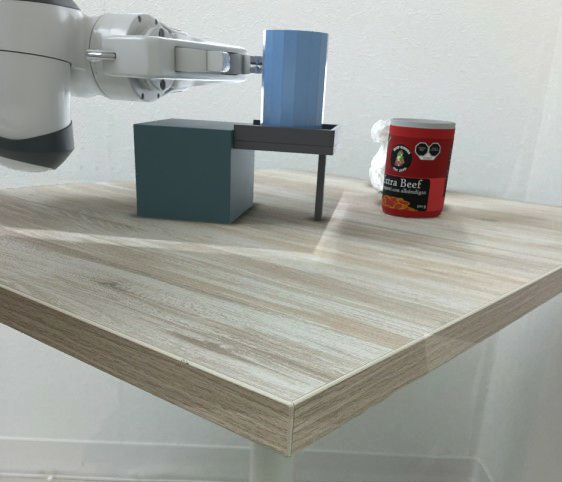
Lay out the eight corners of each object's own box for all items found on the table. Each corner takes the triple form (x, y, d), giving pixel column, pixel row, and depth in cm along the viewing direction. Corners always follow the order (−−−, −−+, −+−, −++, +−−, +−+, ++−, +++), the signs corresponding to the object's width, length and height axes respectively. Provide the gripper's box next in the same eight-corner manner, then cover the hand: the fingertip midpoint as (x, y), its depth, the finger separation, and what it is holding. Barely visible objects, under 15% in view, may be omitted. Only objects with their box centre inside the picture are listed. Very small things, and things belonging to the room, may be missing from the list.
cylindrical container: (254, 140, 65) (258, 28, 61) (266, 135, 71) (270, 33, 67) (317, 144, 64) (325, 31, 60) (324, 139, 70) (331, 36, 66)
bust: (398, 201, 103) (363, 138, 102) (440, 175, 99) (404, 109, 98) (373, 212, 93) (334, 143, 92) (418, 184, 89) (378, 111, 88)
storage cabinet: (137, 225, 68) (132, 118, 64) (173, 205, 79) (171, 113, 74) (325, 241, 65) (334, 131, 61) (335, 218, 76) (343, 124, 72)
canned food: (368, 210, 82) (377, 118, 78) (404, 205, 87) (415, 118, 83) (418, 221, 77) (431, 123, 73) (453, 214, 82) (468, 122, 78)
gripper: (70, 17, 61) (196, 19, 57) (184, 33, 79) (288, 36, 74) (76, 89, 64) (196, 97, 59) (185, 89, 81) (285, 96, 76)
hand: (248, 63), depth 67 cm, fingers open, 8 cm apart
